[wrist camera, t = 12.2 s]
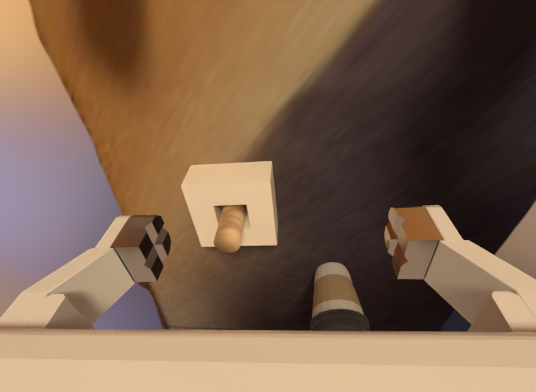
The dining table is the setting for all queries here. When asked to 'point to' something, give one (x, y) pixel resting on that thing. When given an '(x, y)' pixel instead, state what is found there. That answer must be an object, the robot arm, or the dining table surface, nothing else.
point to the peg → (230, 228)
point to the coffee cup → (336, 301)
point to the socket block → (233, 199)
